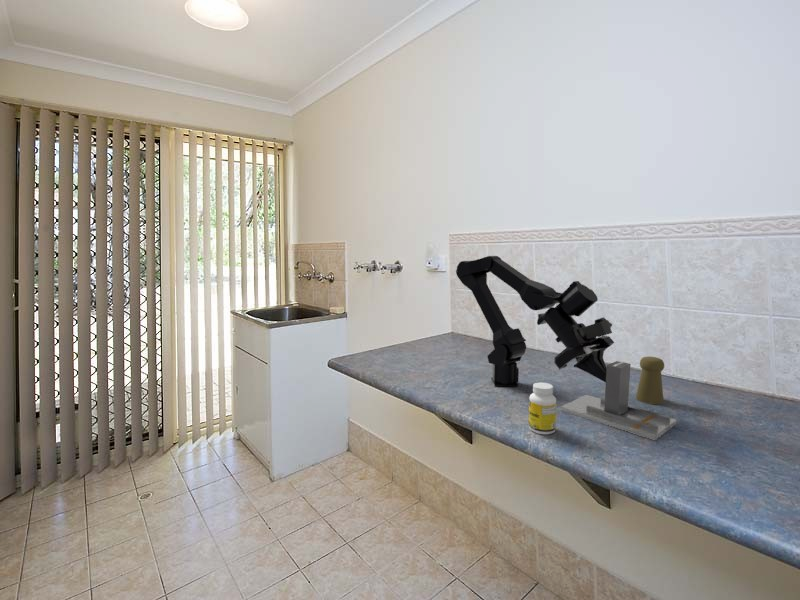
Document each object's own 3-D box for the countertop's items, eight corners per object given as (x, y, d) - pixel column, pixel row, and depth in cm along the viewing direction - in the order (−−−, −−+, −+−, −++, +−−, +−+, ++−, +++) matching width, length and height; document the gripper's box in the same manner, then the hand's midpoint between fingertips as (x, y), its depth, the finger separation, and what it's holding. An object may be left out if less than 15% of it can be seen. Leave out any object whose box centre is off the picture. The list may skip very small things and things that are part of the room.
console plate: (561, 410, 96) (561, 402, 96) (585, 398, 103) (586, 390, 103) (654, 440, 80) (655, 431, 80) (676, 424, 88) (676, 415, 88)
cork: (636, 393, 106) (639, 353, 105) (663, 398, 103) (667, 356, 101) (634, 401, 101) (637, 358, 100) (663, 406, 98) (666, 362, 97)
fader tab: (604, 412, 92) (606, 364, 90) (614, 406, 95) (616, 360, 93) (618, 416, 89) (620, 367, 88) (627, 410, 92) (630, 363, 91)
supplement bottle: (524, 424, 89) (525, 381, 87) (548, 423, 89) (549, 380, 88) (534, 435, 83) (536, 390, 82) (559, 434, 84) (561, 389, 82)
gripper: (568, 311, 89) (618, 371, 82) (607, 303, 100) (654, 355, 93) (536, 340, 96) (579, 398, 89) (575, 330, 107) (617, 380, 100)
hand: (609, 381), depth 92 cm, fingers closed, pressing on fader tab
